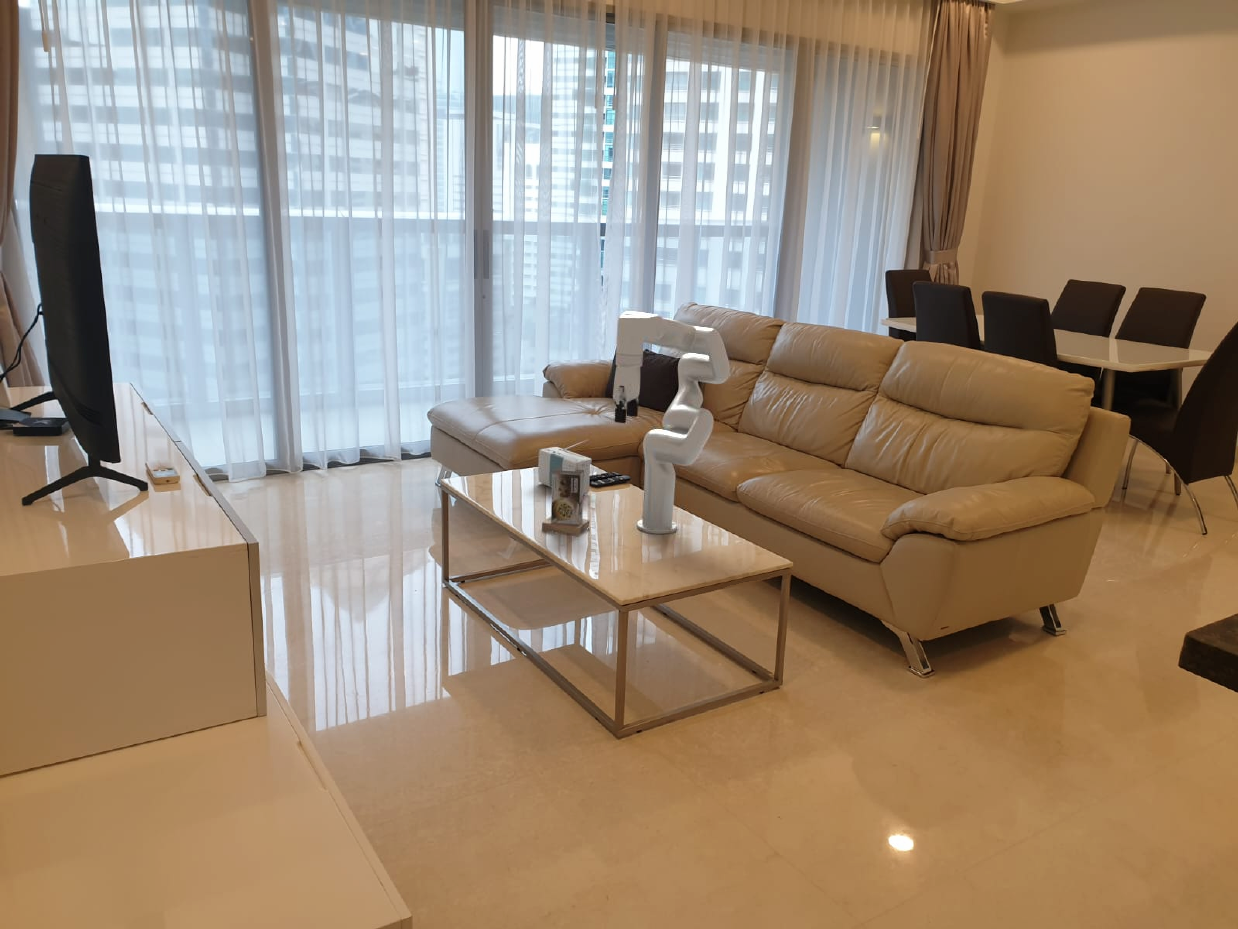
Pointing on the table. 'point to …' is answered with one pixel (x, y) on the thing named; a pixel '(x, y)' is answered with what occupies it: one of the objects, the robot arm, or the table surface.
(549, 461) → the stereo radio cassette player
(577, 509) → the coffee box
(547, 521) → the flat wooden block
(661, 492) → the robot arm
